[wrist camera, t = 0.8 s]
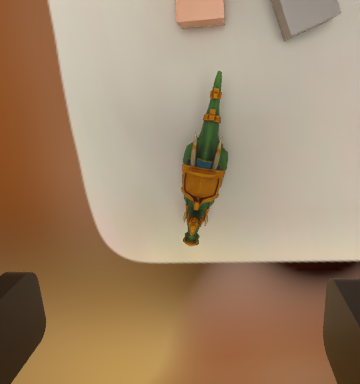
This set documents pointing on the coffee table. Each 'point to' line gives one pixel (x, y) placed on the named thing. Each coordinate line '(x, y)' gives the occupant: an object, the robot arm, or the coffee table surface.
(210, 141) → the figurine
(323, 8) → the slate-grey brick
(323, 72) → the coffee table surface
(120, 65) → the coffee table surface
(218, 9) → the terracotta brick
